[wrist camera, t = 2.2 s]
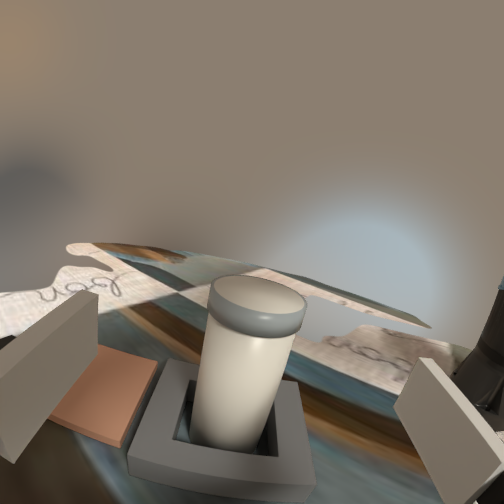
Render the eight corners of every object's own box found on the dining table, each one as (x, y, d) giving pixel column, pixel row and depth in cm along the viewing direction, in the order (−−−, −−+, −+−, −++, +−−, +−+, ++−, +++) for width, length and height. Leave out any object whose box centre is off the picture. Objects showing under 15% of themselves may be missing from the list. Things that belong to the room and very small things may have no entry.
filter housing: (289, 402, 32) (297, 382, 31) (304, 502, 18) (316, 484, 18) (166, 379, 31) (168, 357, 31) (129, 474, 18) (126, 454, 17)
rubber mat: (157, 368, 33) (157, 361, 33) (120, 448, 20) (119, 441, 20) (75, 342, 32) (74, 335, 32) (18, 403, 20) (16, 395, 19)
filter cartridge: (259, 419, 28) (300, 285, 25) (259, 468, 22) (315, 322, 18) (193, 407, 28) (216, 268, 25) (181, 455, 21) (203, 301, 18)
